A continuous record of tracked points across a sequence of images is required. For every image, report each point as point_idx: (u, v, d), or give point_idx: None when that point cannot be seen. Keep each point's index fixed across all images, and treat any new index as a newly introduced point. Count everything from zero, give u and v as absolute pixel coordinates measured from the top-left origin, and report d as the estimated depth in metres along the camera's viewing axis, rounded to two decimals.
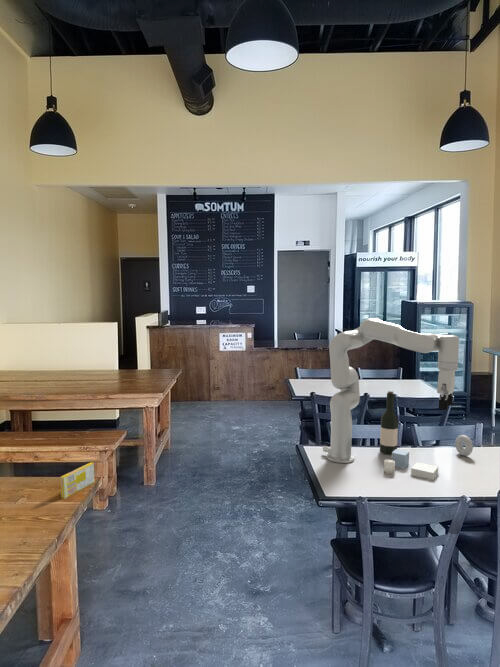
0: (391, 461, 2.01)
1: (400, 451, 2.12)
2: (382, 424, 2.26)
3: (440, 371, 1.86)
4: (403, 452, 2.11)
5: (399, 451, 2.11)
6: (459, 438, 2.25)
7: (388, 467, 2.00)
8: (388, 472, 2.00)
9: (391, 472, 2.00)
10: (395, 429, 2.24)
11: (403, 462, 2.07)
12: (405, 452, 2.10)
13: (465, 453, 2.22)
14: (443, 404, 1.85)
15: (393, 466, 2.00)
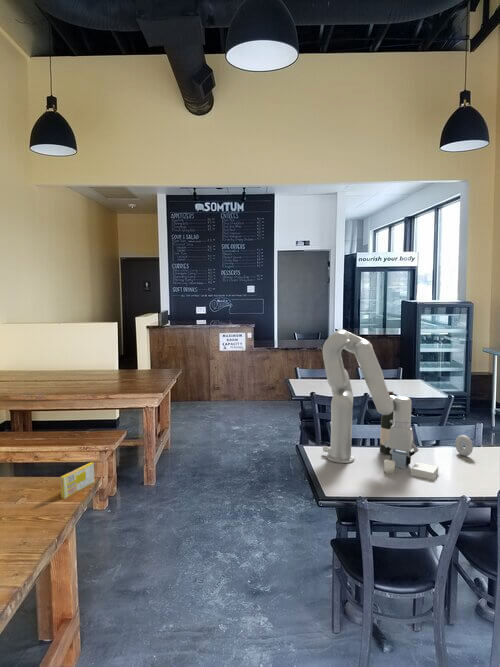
0: (391, 461, 2.01)
1: (400, 451, 2.12)
2: (382, 424, 2.26)
3: (410, 431, 2.06)
4: (403, 452, 2.11)
5: (399, 451, 2.11)
6: (459, 438, 2.25)
7: (388, 467, 2.00)
8: (388, 472, 2.00)
9: (391, 472, 2.00)
10: None
11: (403, 462, 2.07)
12: (405, 452, 2.10)
13: (465, 453, 2.22)
14: (410, 460, 2.09)
15: (393, 466, 2.00)
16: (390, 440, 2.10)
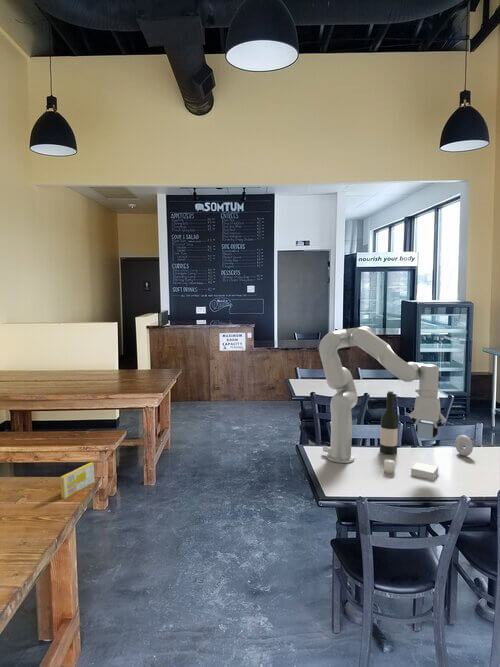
0: (391, 461, 2.01)
1: (426, 422, 1.99)
2: (382, 424, 2.26)
3: (437, 400, 1.94)
4: (430, 422, 1.98)
5: (425, 422, 1.99)
6: (459, 438, 2.25)
7: (388, 467, 2.00)
8: (388, 472, 2.00)
9: (391, 472, 2.00)
10: (395, 429, 2.24)
11: (430, 433, 1.95)
12: (432, 423, 1.98)
13: (465, 453, 2.22)
14: (437, 431, 1.97)
15: (393, 466, 2.00)
16: (416, 410, 1.98)
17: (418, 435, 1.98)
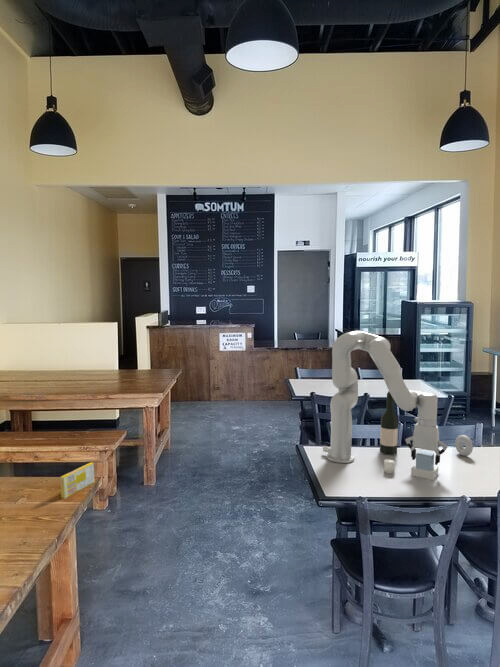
0: (391, 461, 2.01)
1: (425, 453, 2.01)
2: (382, 424, 2.26)
3: (436, 429, 1.95)
4: (428, 453, 2.00)
5: (424, 453, 2.00)
6: (459, 438, 2.25)
7: (388, 467, 2.00)
8: (388, 472, 2.00)
9: (391, 472, 2.00)
10: (395, 429, 2.24)
11: (428, 464, 1.96)
12: (430, 454, 1.99)
13: (465, 453, 2.22)
14: (439, 458, 1.97)
15: (393, 466, 2.00)
16: (414, 439, 1.99)
17: (416, 466, 1.99)
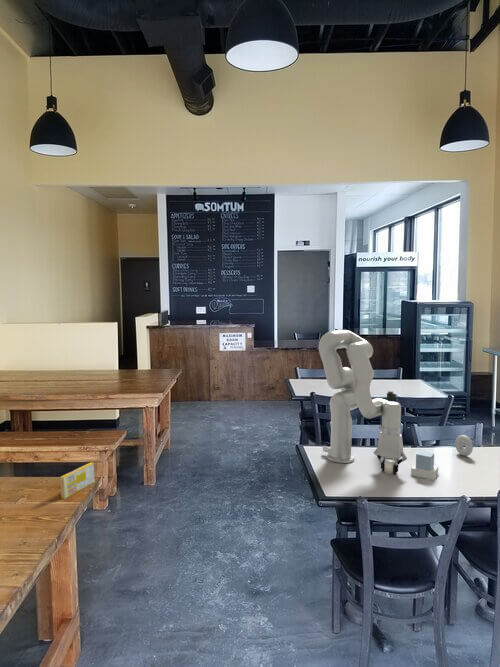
0: (391, 461, 2.01)
1: (425, 453, 2.01)
2: None
3: (399, 438, 1.97)
4: (428, 453, 2.00)
5: (424, 453, 2.00)
6: (459, 438, 2.25)
7: (388, 467, 2.00)
8: (388, 472, 2.00)
9: (391, 472, 2.00)
10: None
11: (428, 464, 1.96)
12: (430, 454, 1.99)
13: (465, 453, 2.22)
14: (397, 468, 2.00)
15: (393, 466, 2.00)
16: (379, 447, 2.01)
17: (416, 466, 1.99)
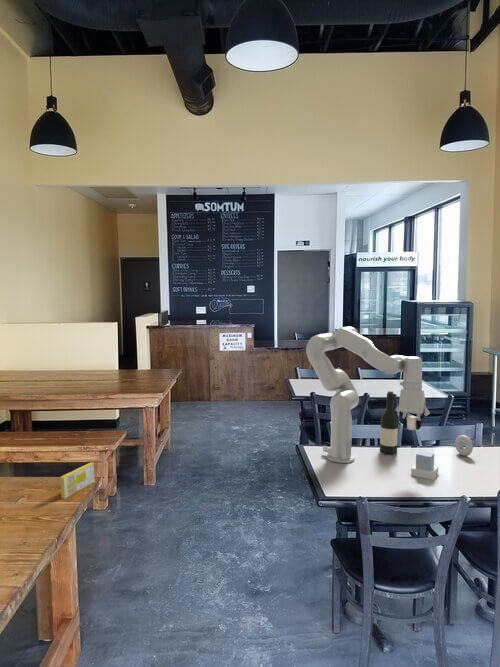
0: (413, 417, 1.98)
1: (425, 453, 2.01)
2: (382, 424, 2.26)
3: (421, 392, 1.94)
4: (428, 453, 2.00)
5: (424, 453, 2.00)
6: (459, 438, 2.25)
7: (410, 423, 1.97)
8: (411, 428, 1.97)
9: (414, 428, 1.97)
10: (395, 429, 2.24)
11: (428, 464, 1.96)
12: (430, 454, 1.99)
13: (465, 453, 2.22)
14: (420, 423, 1.97)
15: None
16: (401, 403, 1.98)
17: (416, 466, 1.99)
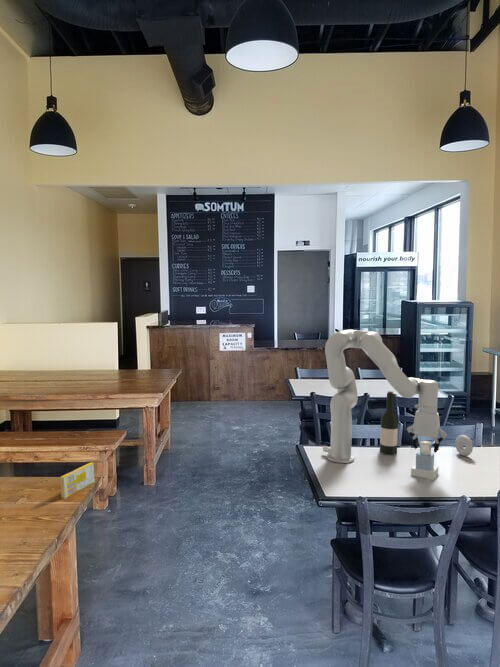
0: (427, 442, 1.99)
1: None
2: (382, 424, 2.26)
3: (436, 416, 1.94)
4: None
5: None
6: (459, 438, 2.25)
7: (424, 448, 1.98)
8: (424, 453, 1.98)
9: (427, 453, 1.97)
10: (395, 429, 2.24)
11: (428, 464, 1.96)
12: None
13: (465, 453, 2.22)
14: (438, 446, 1.97)
15: (429, 447, 1.98)
16: (415, 426, 1.99)
17: (416, 466, 1.99)
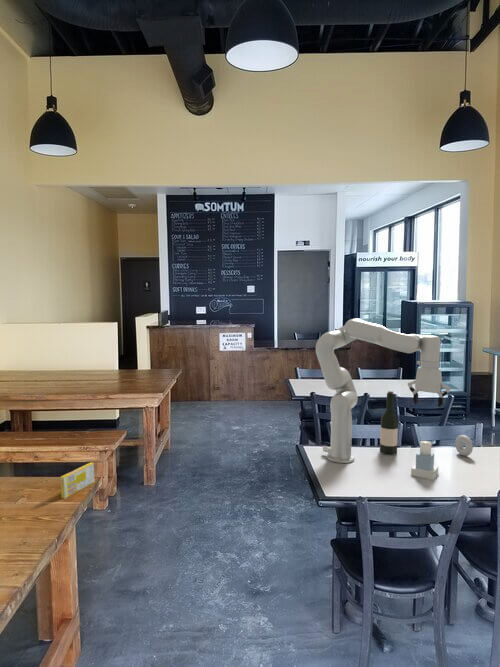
0: (427, 442, 1.99)
1: None
2: (382, 424, 2.26)
3: (439, 371, 1.93)
4: None
5: None
6: (459, 438, 2.25)
7: (424, 448, 1.98)
8: (424, 453, 1.98)
9: (427, 453, 1.97)
10: (395, 429, 2.24)
11: (428, 464, 1.96)
12: None
13: (465, 453, 2.22)
14: (442, 401, 1.95)
15: (429, 447, 1.98)
16: (417, 382, 1.97)
17: (416, 466, 1.99)
